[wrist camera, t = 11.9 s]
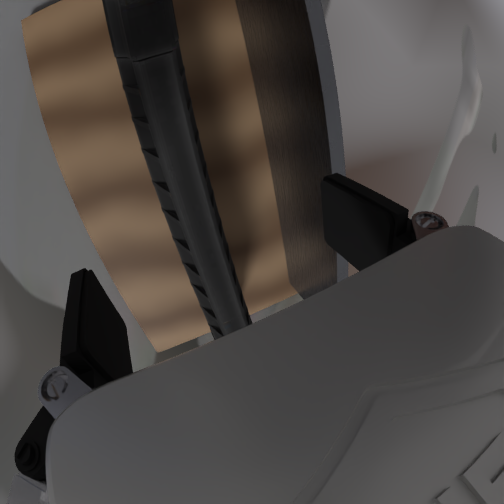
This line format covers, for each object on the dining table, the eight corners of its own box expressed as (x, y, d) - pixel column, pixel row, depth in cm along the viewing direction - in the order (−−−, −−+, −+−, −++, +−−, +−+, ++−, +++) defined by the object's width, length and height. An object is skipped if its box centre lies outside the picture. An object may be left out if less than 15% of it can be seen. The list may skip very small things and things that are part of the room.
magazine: (276, 388, 25) (259, -107, 2) (244, 402, 24) (80, -86, 1) (210, 257, 35) (147, -20, 12) (184, 268, 35) (101, -7, 12)
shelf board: (26, 24, 12) (21, 20, 11) (242, -34, 16) (248, -40, 14) (155, 343, 31) (157, 352, 30) (300, 281, 35) (306, 288, 34)
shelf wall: (230, -21, 15) (285, -68, 8) (241, -22, 15) (301, -66, 8) (289, 282, 32) (336, 337, 25) (297, 279, 32) (345, 332, 25)
